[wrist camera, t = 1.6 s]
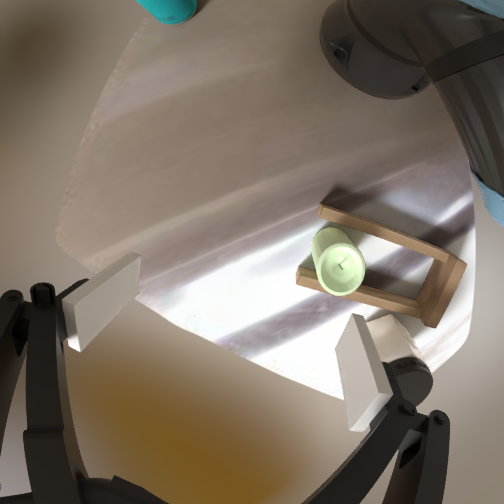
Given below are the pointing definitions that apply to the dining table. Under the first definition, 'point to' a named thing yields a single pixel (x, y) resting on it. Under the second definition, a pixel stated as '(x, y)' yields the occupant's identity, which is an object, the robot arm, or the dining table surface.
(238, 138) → the dining table surface
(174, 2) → the beverage can
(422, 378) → the jar
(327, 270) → the candle
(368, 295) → the channel
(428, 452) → the robot arm
